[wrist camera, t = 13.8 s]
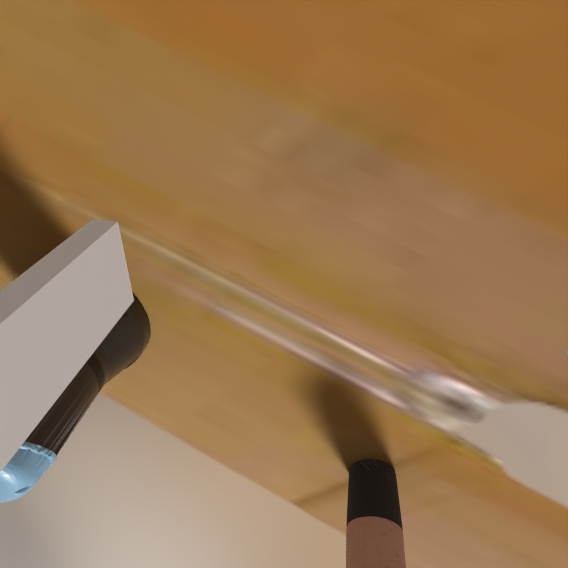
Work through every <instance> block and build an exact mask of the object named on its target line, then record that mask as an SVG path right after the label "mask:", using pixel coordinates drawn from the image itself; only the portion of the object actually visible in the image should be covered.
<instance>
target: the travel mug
mask: <svg viewBox="0 0 568 568" xmlns="http://www.w3.org/2000/svg"><path fill="white" fill-rule="evenodd" d="M346 568H406V564H405V552H404V540H403V529H402V521H401V513H400V504H399V496H398V488H397V480H396V474H395V471H394V469H393V468H392V467H391V466H390V465H388V464H387V463H384V462H382V461H378V460H362V461H359V462H357V463H355V464H353V465H352V466H351V468H350V471H349V486H348V507H347V529H346Z"/></svg>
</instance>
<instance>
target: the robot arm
mask: <svg viewBox="0 0 568 568" xmlns="http://www.w3.org/2000/svg"><path fill="white" fill-rule="evenodd" d="M149 339H150V324H149V320H148V317H147V315H146V313H145V311H144V309H143V307H142V306H141V304H140V303H139V302H138V300H137V299H136V298H135V297H134V296H133V293H132V288H131V283H130V279H129V274H128V269H127V264H126V259H125V254H124V250H123V245H122V240H121V235H120V230H119V226H118V222H114V221H104V220H94V219H92V220H91V221H89V222H88V223H87V224H86V225H84V226H83V227H82V228H80V229H79V230H78V231H77V232H75V233H74V234H73V235H71V236H70V237H69V238H68V239H66V240H65V241H64V242H62V243H61V244H60V245H59V246H57V247H56V248H55V249H53V250H52V251H51V252H50V253H48V254H47V255H46V256H44V257H43V258H42V259H41V260H39V261H38V262H37V263H35V264H34V265H33V266H32V267H30V268H29V269H28V270H26V271H25V272H24V273H22V274H21V275H20V276H19V277H17V278H16V279H15V280H13V281H12V282H11V283H10V284H8V285H7V286H6V287H4V288H3V289H2V290H1V291H0V502H6V501H11V500H14V499H17V498H19V497H21V496H23V495H24V494H26V493H27V492H28V491H30V490H31V489H32V488H33V486H34V485H35V484H36V482H37V481H38V480H39V479H40V478H41V476H42V475H43V473H45V471H46V470H47V469H48V467H49V466H50V465H51V464H53V462H54V461H55V460H56V458H57V454H58V453H59V451H60V450H61V448H62V447H63V445H64V443H65V442H66V441H67V439H68V438H69V436H70V435H71V433H72V432H73V430H74V429H75V427H76V426H77V424H78V423H79V421H80V420H81V418H82V417H83V415H84V414H85V412H86V411H87V409H88V408H89V406H90V405H91V403H92V402H93V400H94V399H95V397H96V396H97V395H98V393H99V392H100V390H101V389H102V387H103V386H104V385H105V384H106V383H107V382H108V381H110V380H111V379H112V378H113V377H115V376H116V375H117V374H119V373H120V372H121V371H122V370H123V369H125V368H127V367H129V366H130V365H132V364H133V363H134V362H135V361H136V360H137V359H138V358H139V357H140V355H141V354H142V352H143V351H144V349H145V348H146V346H147V344H148V342H149ZM566 353H567V355H568V350H567V352H566Z"/></svg>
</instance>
